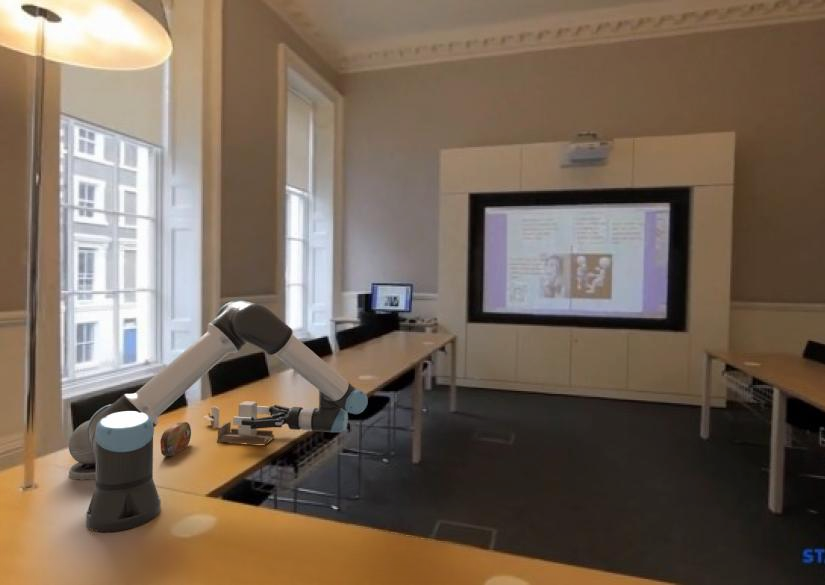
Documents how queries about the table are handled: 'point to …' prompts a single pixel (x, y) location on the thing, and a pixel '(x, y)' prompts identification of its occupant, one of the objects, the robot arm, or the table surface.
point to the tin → (175, 439)
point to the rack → (232, 436)
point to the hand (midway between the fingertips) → (243, 414)
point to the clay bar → (247, 411)
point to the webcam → (82, 454)
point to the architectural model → (213, 416)
